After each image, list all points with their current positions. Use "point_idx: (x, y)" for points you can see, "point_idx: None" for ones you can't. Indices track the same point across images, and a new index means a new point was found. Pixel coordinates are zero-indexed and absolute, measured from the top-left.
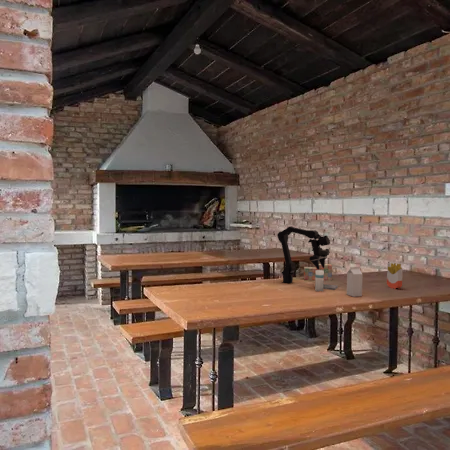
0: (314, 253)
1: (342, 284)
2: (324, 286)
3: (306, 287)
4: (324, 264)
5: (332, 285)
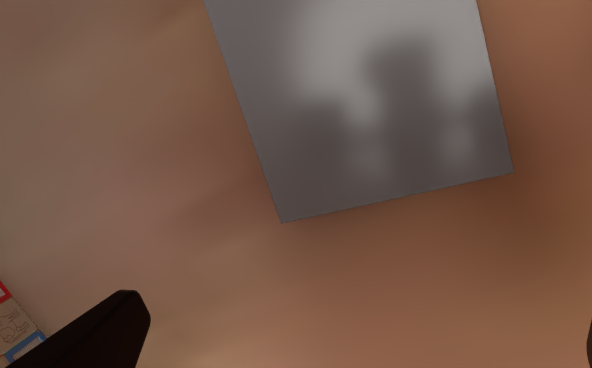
0: None
1: (16, 15)
2: (420, 75)
3: (559, 300)
4: (34, 355)
5: (252, 20)
